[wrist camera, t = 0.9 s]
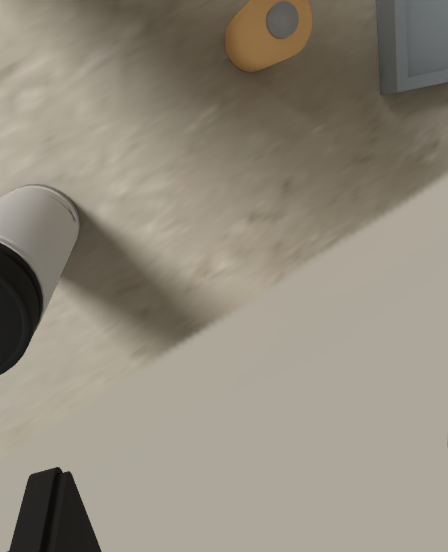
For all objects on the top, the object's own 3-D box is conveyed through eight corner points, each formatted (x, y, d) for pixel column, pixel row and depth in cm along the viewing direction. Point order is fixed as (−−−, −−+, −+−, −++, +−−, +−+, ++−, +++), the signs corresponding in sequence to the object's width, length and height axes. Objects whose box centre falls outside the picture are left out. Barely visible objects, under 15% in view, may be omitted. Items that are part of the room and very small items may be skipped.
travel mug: (86, 189, 35) (39, 261, 16) (74, 264, 36) (20, 405, 18) (3, 171, 33) (-155, 229, 14) (-5, 251, 35) (-154, 392, 16)
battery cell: (219, 14, 33) (244, -16, 26) (273, 5, 33) (312, -27, 26) (230, 76, 34) (256, 64, 27) (281, 66, 35) (319, 51, 28)
